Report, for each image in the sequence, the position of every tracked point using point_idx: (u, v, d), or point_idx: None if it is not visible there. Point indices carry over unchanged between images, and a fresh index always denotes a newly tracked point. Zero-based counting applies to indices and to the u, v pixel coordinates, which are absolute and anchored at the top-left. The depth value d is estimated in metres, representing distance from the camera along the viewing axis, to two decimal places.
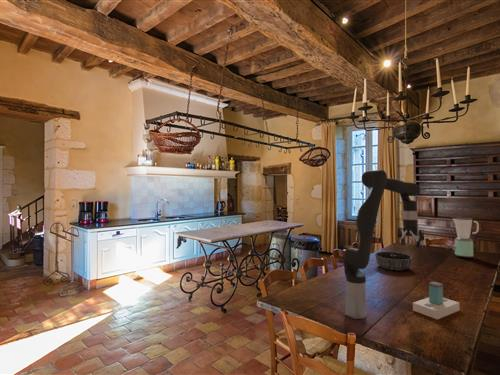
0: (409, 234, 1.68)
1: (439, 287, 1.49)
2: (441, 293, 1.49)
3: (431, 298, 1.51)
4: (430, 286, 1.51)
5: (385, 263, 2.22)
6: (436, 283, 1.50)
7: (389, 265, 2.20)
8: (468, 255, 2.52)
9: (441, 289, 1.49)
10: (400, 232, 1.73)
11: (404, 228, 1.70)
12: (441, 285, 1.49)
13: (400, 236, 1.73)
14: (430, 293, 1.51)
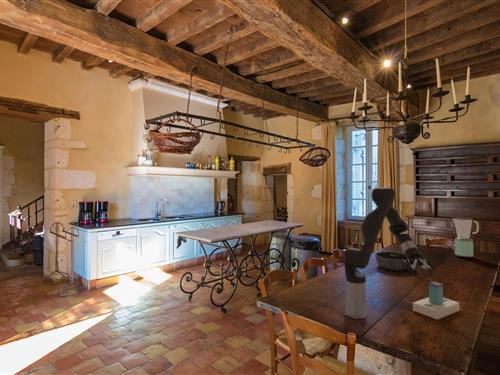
0: (419, 263, 1.63)
1: (439, 287, 1.49)
2: (441, 293, 1.49)
3: (431, 298, 1.51)
4: (430, 286, 1.51)
5: (385, 263, 2.22)
6: (436, 283, 1.50)
7: (389, 265, 2.20)
8: (468, 255, 2.52)
9: (441, 289, 1.49)
10: None
11: (411, 258, 1.65)
12: (441, 285, 1.49)
13: (410, 267, 1.62)
14: (430, 293, 1.51)
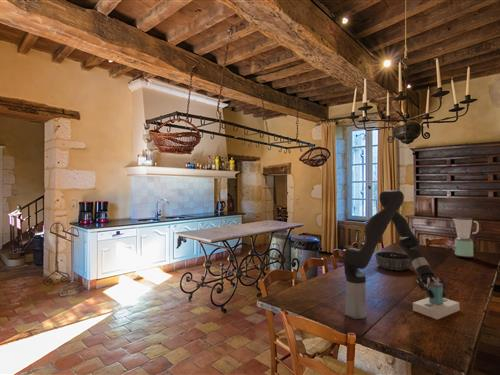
0: None
1: (439, 287, 1.48)
2: (441, 293, 1.49)
3: None
4: (430, 286, 1.51)
5: (385, 263, 2.22)
6: (436, 283, 1.50)
7: (389, 265, 2.20)
8: (468, 255, 2.52)
9: (441, 289, 1.49)
10: None
11: (423, 277, 1.56)
12: (441, 285, 1.49)
13: (425, 287, 1.52)
14: None
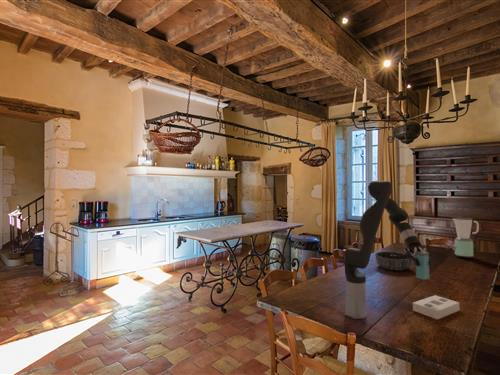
0: None
1: (425, 255, 1.56)
2: (427, 261, 1.57)
3: (417, 267, 1.59)
4: (417, 255, 1.59)
5: (385, 263, 2.22)
6: (422, 252, 1.58)
7: (389, 265, 2.20)
8: (468, 255, 2.52)
9: (427, 257, 1.57)
10: None
11: (410, 247, 1.64)
12: (427, 253, 1.57)
13: (412, 256, 1.60)
14: None
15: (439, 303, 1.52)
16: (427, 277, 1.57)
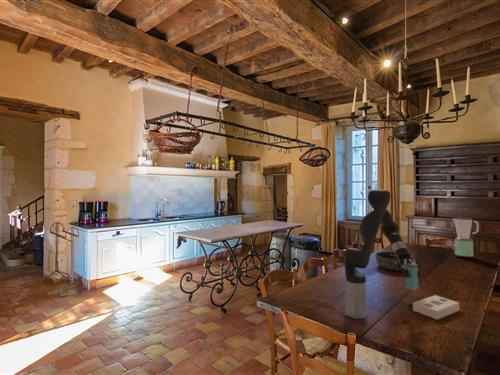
0: None
1: (414, 267, 1.63)
2: (416, 272, 1.64)
3: (407, 278, 1.66)
4: (406, 266, 1.66)
5: (385, 263, 2.22)
6: (412, 263, 1.65)
7: (389, 265, 2.20)
8: (468, 255, 2.52)
9: (416, 269, 1.64)
10: None
11: (401, 258, 1.71)
12: (416, 265, 1.64)
13: (402, 267, 1.67)
14: None
15: (439, 303, 1.52)
16: (416, 288, 1.64)
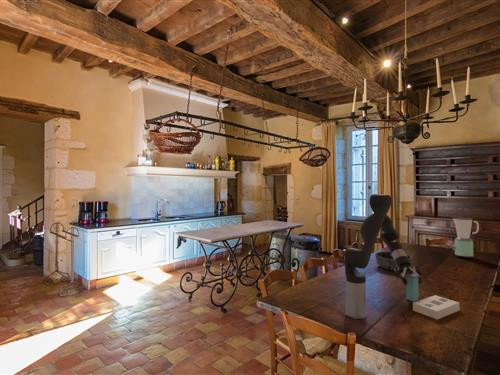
0: (408, 271, 1.69)
1: (414, 278, 1.63)
2: (416, 284, 1.64)
3: (407, 288, 1.66)
4: (407, 277, 1.66)
5: (385, 263, 2.22)
6: (412, 274, 1.65)
7: (389, 265, 2.20)
8: (468, 255, 2.52)
9: (416, 280, 1.64)
10: None
11: (401, 266, 1.71)
12: (417, 276, 1.64)
13: (400, 275, 1.67)
14: None
15: (439, 303, 1.52)
16: (416, 299, 1.64)
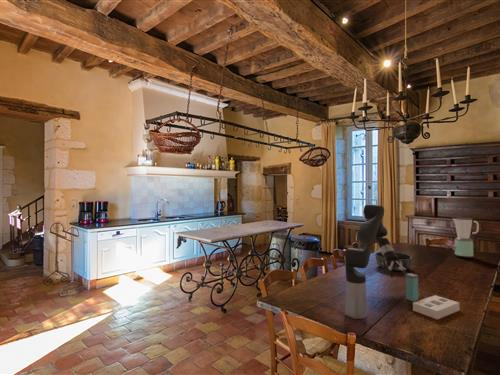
0: (395, 265, 1.81)
1: (414, 278, 1.63)
2: (416, 283, 1.64)
3: (407, 288, 1.66)
4: (406, 277, 1.66)
5: None
6: (412, 274, 1.65)
7: None
8: (468, 255, 2.52)
9: (416, 280, 1.64)
10: None
11: (388, 260, 1.83)
12: (416, 276, 1.64)
13: (387, 268, 1.80)
14: (406, 284, 1.66)
15: (439, 303, 1.52)
16: (416, 299, 1.64)
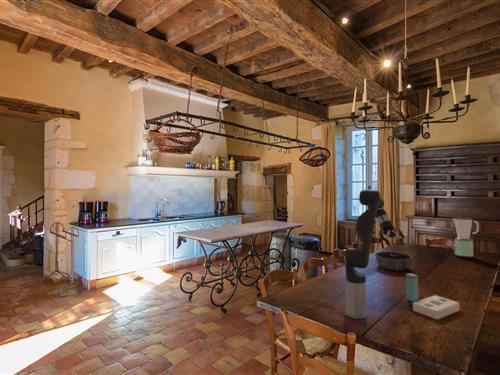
0: (392, 234, 1.80)
1: (414, 278, 1.63)
2: (416, 283, 1.64)
3: (407, 288, 1.66)
4: (406, 277, 1.66)
5: (385, 263, 2.22)
6: (412, 274, 1.65)
7: (389, 265, 2.20)
8: (468, 255, 2.52)
9: (416, 280, 1.64)
10: None
11: (385, 230, 1.82)
12: (416, 276, 1.64)
13: None
14: (406, 284, 1.66)
15: (439, 303, 1.52)
16: (416, 299, 1.64)
